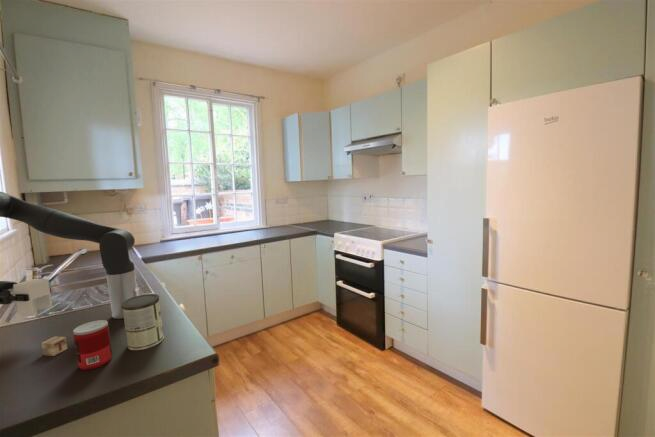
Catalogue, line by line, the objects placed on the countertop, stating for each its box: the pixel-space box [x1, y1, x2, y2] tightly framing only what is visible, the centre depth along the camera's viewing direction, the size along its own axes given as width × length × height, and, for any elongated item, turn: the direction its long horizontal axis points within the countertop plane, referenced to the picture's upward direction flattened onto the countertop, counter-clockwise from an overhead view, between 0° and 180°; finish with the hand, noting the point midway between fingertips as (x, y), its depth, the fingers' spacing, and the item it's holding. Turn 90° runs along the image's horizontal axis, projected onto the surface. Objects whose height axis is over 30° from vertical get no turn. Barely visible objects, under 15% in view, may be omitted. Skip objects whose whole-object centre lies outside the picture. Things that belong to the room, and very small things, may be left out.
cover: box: [13, 278, 54, 316], centre depth 103 cm, size 6×6×10 cm
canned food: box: [72, 319, 113, 371], centre depth 89 cm, size 8×8×11 cm
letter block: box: [41, 336, 68, 357], centre depth 97 cm, size 4×4×4 cm
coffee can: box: [121, 293, 165, 351], centre depth 99 cm, size 10×10×14 cm
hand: (39, 293), depth 102 cm, fingers closed on cover, 6 cm apart
